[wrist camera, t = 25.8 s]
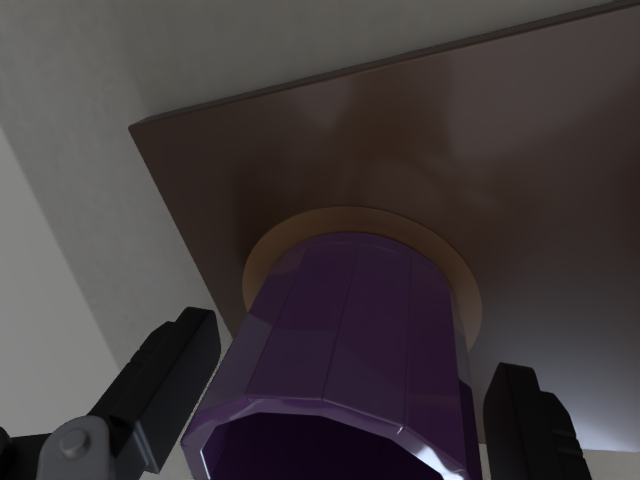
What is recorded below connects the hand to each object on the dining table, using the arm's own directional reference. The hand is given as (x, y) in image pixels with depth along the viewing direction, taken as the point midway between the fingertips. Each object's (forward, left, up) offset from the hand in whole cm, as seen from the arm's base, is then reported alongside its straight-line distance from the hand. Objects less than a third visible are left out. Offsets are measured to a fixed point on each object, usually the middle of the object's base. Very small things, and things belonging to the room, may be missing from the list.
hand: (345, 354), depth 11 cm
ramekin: (0, 0, -2) cm, 2 cm away
